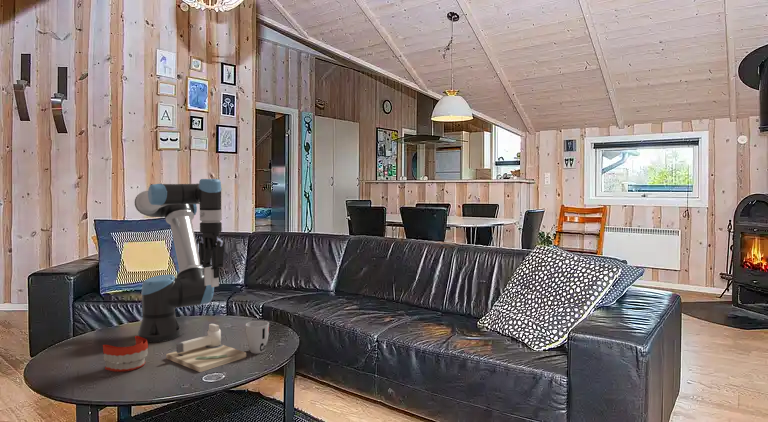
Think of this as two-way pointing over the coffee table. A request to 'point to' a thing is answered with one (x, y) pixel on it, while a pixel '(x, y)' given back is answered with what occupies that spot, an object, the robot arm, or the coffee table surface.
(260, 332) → the cup
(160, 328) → the robot arm
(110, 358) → the toy
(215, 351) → the board
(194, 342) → the lever
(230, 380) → the coffee table surface
